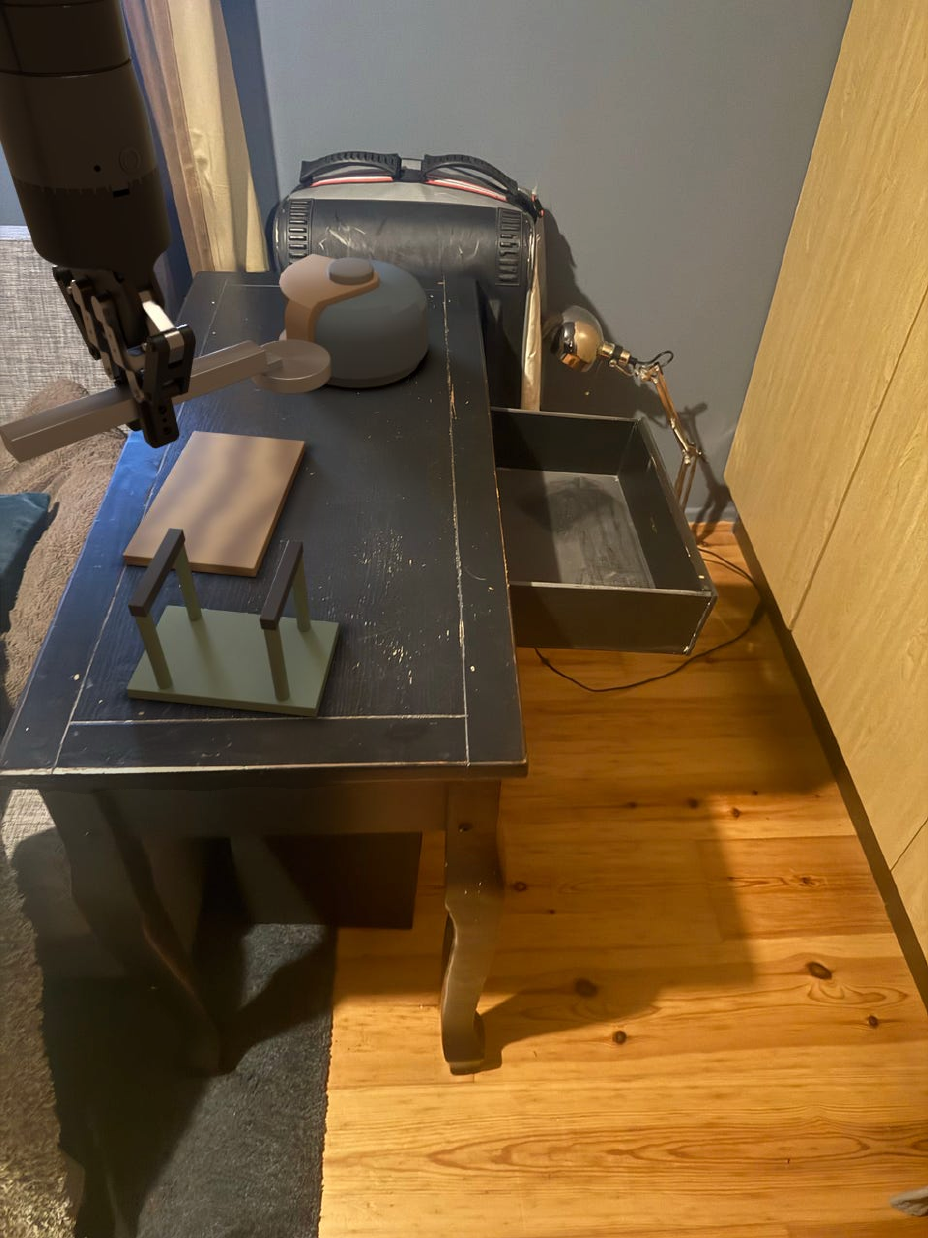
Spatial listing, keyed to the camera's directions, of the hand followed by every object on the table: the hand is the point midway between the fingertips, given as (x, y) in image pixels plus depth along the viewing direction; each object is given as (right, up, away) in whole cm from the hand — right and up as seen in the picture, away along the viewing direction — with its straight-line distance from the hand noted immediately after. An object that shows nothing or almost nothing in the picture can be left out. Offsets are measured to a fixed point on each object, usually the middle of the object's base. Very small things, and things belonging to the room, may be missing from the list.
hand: (153, 433), depth 56 cm
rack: (+1, -17, +16) cm, 23 cm away
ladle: (+2, +2, +1) cm, 3 cm away
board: (-5, 0, +32) cm, 32 cm away
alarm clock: (+6, +23, +55) cm, 60 cm away
